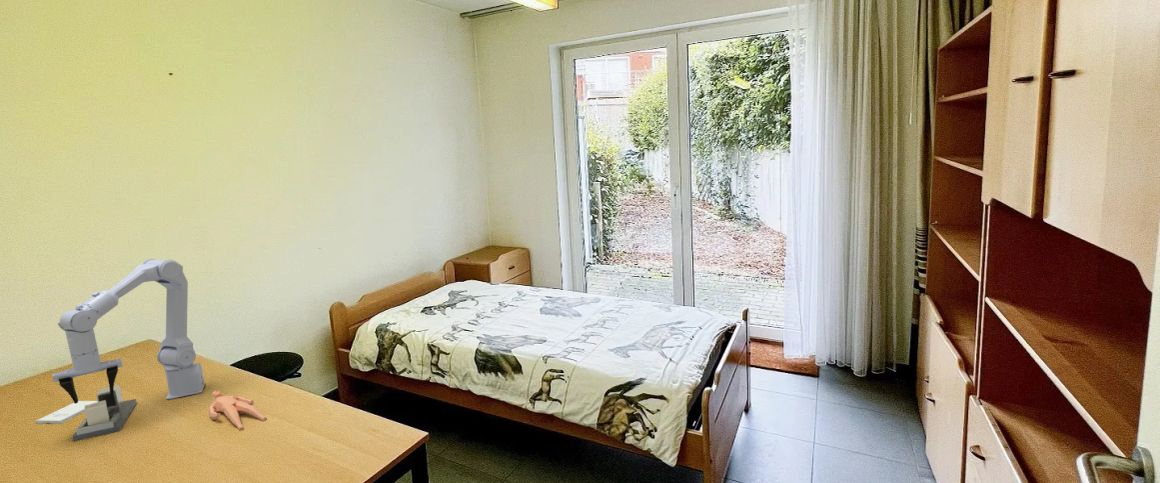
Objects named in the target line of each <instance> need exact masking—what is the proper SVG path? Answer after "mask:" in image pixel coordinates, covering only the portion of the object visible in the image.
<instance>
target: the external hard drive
mask: <svg viewBox="0 0 1160 483" xmlns="http://www.w3.org/2000/svg"><path fill="white" fill-rule="evenodd" d="M96 402H98V400H78V403H76V404H74V402H73V403H70V404H68V405H66V406H64V407H62V408H60V409H58V410H55V411H54V412H51V413H49V414H47V415H45V416H43V417H40V418H39V419H36V420H35V424H38V425H39V424H41V425H43V424H52V425H53V424H59V425H60V424H63V423H65V422H67V421H69V420H71V419H73V418H74V417H77V416H79V415H81V414H83V413H85V405H89V404H92V403H96Z"/></svg>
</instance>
